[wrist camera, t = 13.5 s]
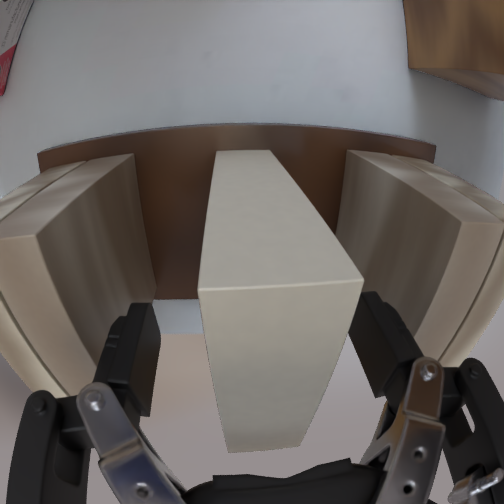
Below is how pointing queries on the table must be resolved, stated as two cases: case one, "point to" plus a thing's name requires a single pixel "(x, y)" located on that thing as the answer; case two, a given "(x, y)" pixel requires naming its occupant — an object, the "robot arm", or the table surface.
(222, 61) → the table surface
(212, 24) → the table surface
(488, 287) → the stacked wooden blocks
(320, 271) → the cream rectangular block
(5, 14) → the ink box
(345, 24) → the table surface
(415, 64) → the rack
